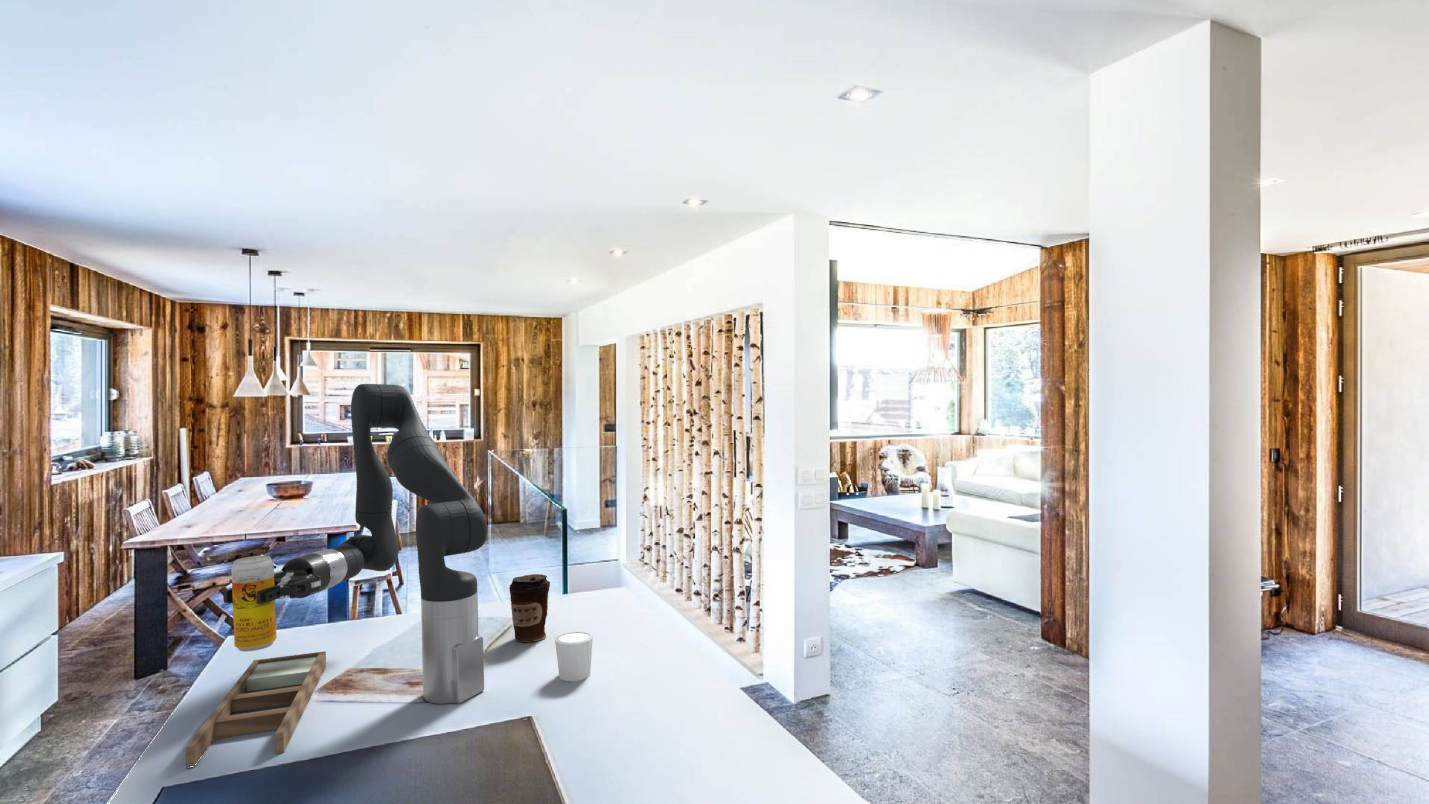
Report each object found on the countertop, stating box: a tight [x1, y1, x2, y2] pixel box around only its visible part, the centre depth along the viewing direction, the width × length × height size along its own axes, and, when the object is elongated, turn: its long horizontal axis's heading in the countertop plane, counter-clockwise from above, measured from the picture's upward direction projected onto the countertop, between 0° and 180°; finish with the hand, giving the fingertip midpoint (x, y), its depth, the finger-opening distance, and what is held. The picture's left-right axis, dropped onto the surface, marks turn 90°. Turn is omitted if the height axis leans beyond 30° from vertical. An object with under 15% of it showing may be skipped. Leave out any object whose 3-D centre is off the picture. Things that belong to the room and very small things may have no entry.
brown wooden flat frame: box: [185, 650, 327, 767], centre depth 120 cm, size 36×12×3 cm, turn 20°
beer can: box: [230, 555, 278, 653], centre depth 123 cm, size 6×6×15 cm
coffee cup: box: [509, 573, 551, 643], centre depth 153 cm, size 9×8×13 cm
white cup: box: [554, 631, 594, 682], centre depth 132 cm, size 7×7×7 cm
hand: (242, 597), depth 121 cm, fingers closed on beer can, 6 cm apart
